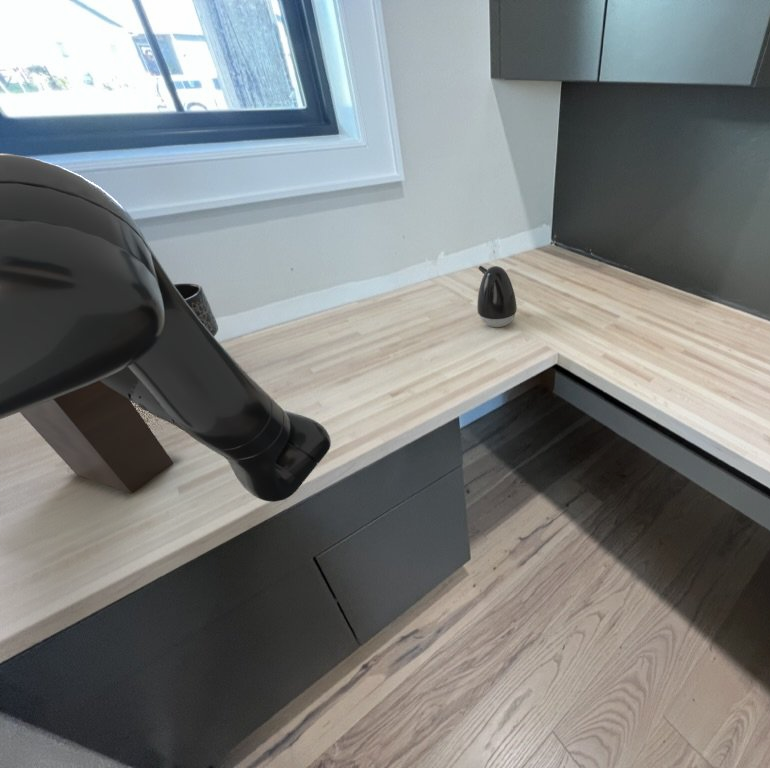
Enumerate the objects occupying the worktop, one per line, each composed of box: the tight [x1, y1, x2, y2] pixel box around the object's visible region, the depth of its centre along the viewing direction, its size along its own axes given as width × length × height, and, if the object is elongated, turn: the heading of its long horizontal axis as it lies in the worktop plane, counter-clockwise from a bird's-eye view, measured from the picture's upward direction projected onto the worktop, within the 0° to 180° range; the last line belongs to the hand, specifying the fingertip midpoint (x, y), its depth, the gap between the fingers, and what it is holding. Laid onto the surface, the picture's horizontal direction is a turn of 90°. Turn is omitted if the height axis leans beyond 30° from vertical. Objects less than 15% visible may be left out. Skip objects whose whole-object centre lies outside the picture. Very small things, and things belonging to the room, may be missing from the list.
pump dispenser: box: [476, 265, 518, 328], centre depth 106 cm, size 10×10×15 cm
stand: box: [19, 380, 174, 494], centre depth 61 cm, size 14×9×30 cm, turn 72°
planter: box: [173, 282, 219, 337], centre depth 90 cm, size 13×13×18 cm
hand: (46, 305), depth 49 cm, fingers open, 8 cm apart
